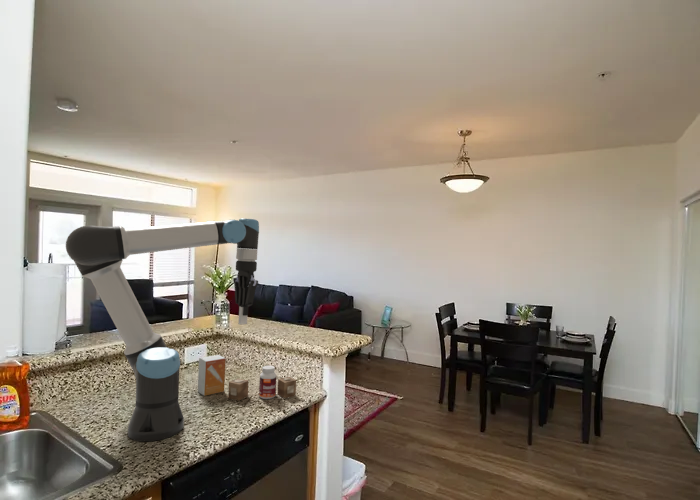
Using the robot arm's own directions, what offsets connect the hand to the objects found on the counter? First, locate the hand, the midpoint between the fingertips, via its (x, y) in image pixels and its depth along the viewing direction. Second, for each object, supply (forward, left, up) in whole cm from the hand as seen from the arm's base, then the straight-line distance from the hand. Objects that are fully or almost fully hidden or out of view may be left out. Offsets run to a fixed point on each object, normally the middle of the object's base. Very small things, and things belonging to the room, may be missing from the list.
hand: (242, 323), depth 146 cm
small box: (-4, +13, -28) cm, 31 cm away
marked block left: (0, +1, -28) cm, 28 cm away
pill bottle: (+8, -6, -28) cm, 29 cm away
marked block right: (+14, -10, -28) cm, 32 cm away
